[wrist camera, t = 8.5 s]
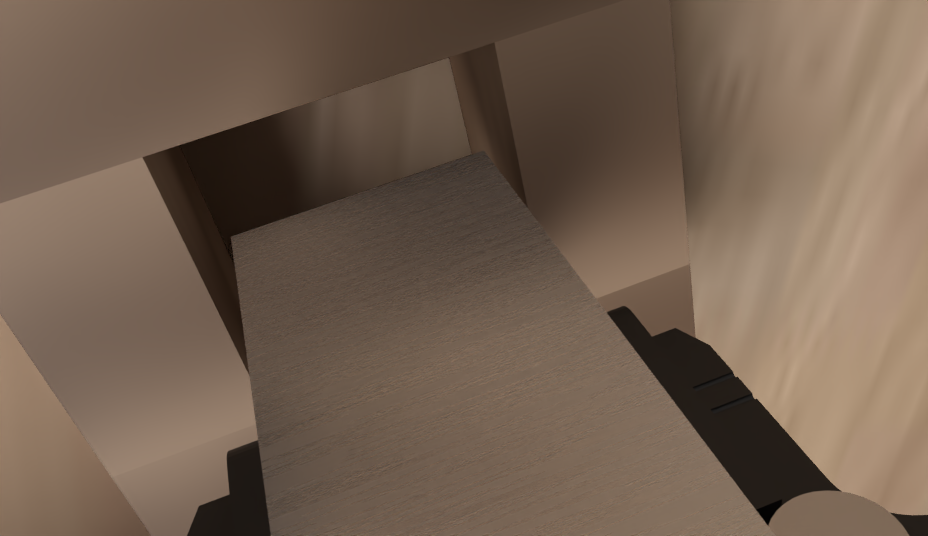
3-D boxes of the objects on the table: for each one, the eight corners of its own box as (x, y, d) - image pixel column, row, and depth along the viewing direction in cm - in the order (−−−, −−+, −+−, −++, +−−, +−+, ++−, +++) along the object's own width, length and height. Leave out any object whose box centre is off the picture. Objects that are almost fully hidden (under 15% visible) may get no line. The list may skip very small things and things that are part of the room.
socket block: (-116, -44, 14) (-197, 25, 11) (551, -235, 16) (653, -225, 13) (174, 444, 21) (177, 574, 18) (620, 280, 23) (698, 373, 19)
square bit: (230, 236, 13) (351, 1132, 5) (483, 150, 13) (997, 828, 5) (314, 423, 15) (494, 1245, 7) (528, 344, 16) (930, 1026, 7)
